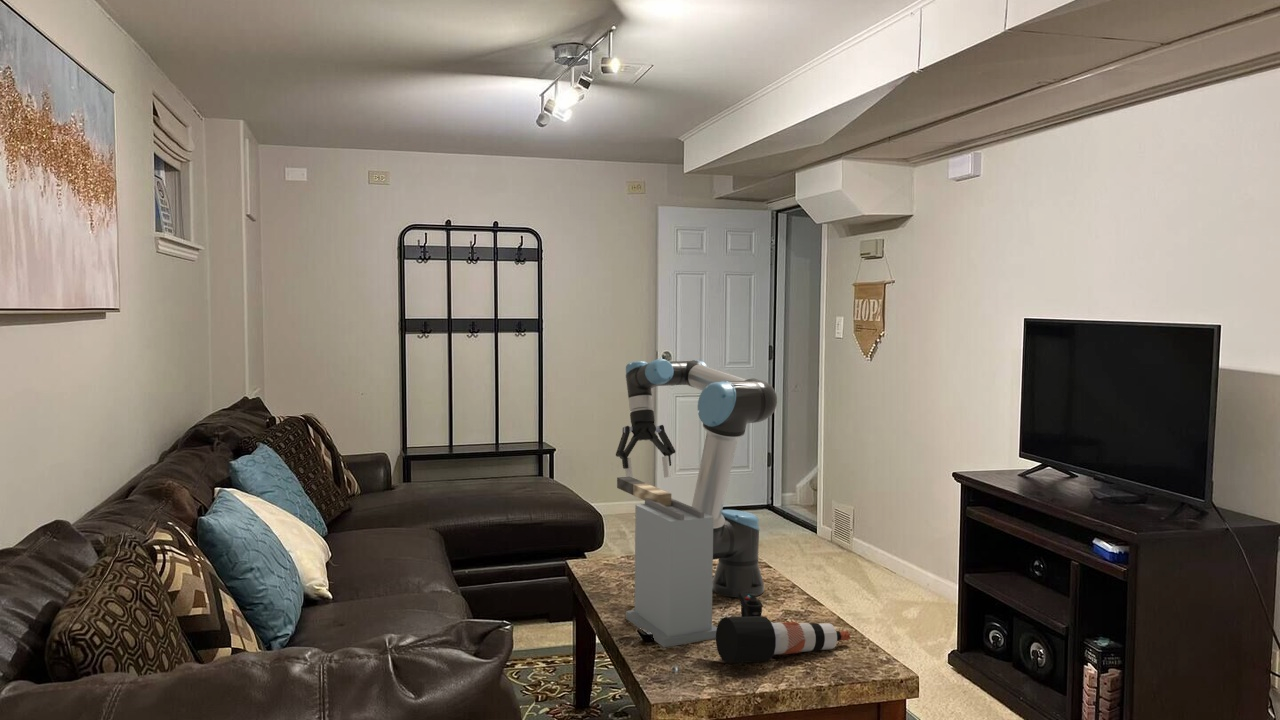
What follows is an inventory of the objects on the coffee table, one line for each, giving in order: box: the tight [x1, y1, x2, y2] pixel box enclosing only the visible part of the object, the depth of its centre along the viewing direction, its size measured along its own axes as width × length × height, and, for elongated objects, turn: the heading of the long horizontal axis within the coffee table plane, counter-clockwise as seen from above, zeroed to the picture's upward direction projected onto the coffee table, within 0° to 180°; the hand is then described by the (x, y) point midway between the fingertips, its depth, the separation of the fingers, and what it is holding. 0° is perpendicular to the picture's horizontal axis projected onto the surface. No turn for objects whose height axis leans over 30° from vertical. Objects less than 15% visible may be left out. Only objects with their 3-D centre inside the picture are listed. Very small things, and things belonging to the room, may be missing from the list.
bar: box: [616, 476, 672, 506], centre depth 239 cm, size 26×4×3 cm, turn 25°
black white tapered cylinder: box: [715, 615, 851, 664], centre depth 207 cm, size 10×34×10 cm, turn 110°
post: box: [625, 497, 717, 648], centre depth 223 cm, size 22×16×32 cm
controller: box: [737, 592, 763, 617], centre depth 224 cm, size 4×12×10 cm, turn 6°
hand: (648, 478), depth 270 cm, fingers open, 13 cm apart
